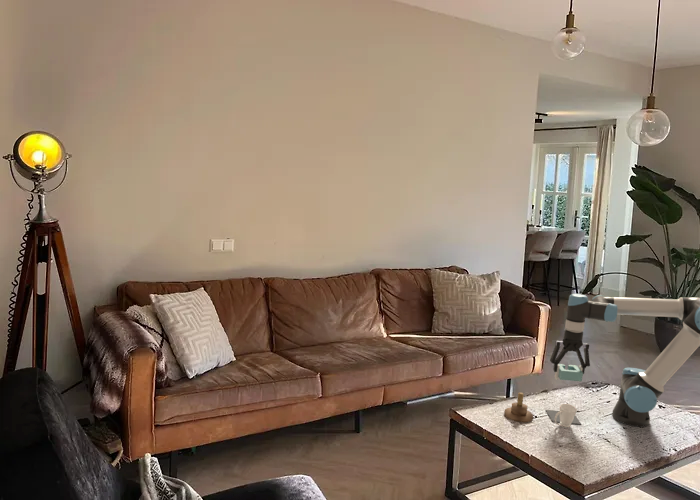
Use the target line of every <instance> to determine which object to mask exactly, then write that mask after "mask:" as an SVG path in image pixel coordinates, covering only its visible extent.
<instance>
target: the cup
mask: <svg viewBox="0 0 700 500" xmlns="http://www.w3.org/2000/svg"><path fill="white" fill-rule="evenodd" d="M558 411H559V412H558V413H557V414H556V416H555V419H554V421H555V424H557V425H558V426H559V427H563V428H570V427H571V426H572V424H571V423H572V421H573V419H574V417H575V416H576V414H577V411H578V409H577V408H576V406H574V405H572V404H569V403H561V404H560V405H559V410H558ZM559 414H560V421H561V422H560V423H557V422H556V419H557V416H558V415H559Z"/></svg>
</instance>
